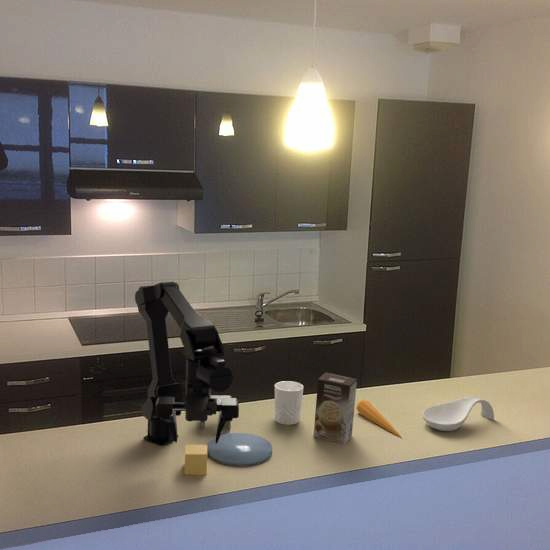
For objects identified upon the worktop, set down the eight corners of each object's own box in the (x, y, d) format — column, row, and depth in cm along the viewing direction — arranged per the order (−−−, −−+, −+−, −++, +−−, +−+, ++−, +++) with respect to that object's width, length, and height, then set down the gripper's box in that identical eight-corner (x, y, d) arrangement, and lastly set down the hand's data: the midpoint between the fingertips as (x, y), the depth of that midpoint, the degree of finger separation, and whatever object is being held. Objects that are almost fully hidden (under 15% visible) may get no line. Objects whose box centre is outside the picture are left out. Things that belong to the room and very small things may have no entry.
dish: (194, 454, 165) (194, 449, 164) (230, 432, 178) (231, 427, 178) (249, 472, 157) (249, 467, 157) (283, 448, 170) (284, 443, 170)
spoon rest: (441, 439, 181) (444, 414, 180) (412, 423, 191) (414, 399, 190) (503, 425, 193) (506, 401, 192) (472, 410, 203) (474, 387, 202)
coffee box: (312, 436, 178) (316, 378, 175) (321, 428, 184) (324, 371, 181) (345, 444, 174) (349, 385, 171) (353, 435, 180) (357, 378, 177)
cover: (202, 418, 186) (203, 395, 185) (229, 419, 187) (230, 395, 185) (202, 429, 179) (203, 405, 178) (230, 430, 180) (231, 405, 178)
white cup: (298, 427, 183) (300, 392, 182) (270, 423, 185) (272, 389, 183) (303, 416, 191) (305, 382, 189) (276, 413, 192) (277, 379, 191)
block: (185, 464, 159) (185, 444, 158) (206, 464, 160) (207, 444, 159) (184, 474, 154) (185, 454, 153) (206, 474, 155) (207, 454, 154)
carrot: (356, 414, 197) (352, 402, 195) (368, 407, 198) (365, 395, 196) (397, 449, 180) (394, 436, 178) (411, 441, 181) (408, 427, 179)
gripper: (153, 389, 144) (151, 457, 147) (240, 391, 146) (237, 458, 149) (157, 372, 155) (156, 436, 158) (239, 374, 157) (236, 437, 160)
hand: (196, 442), depth 156 cm, fingers open, 9 cm apart
